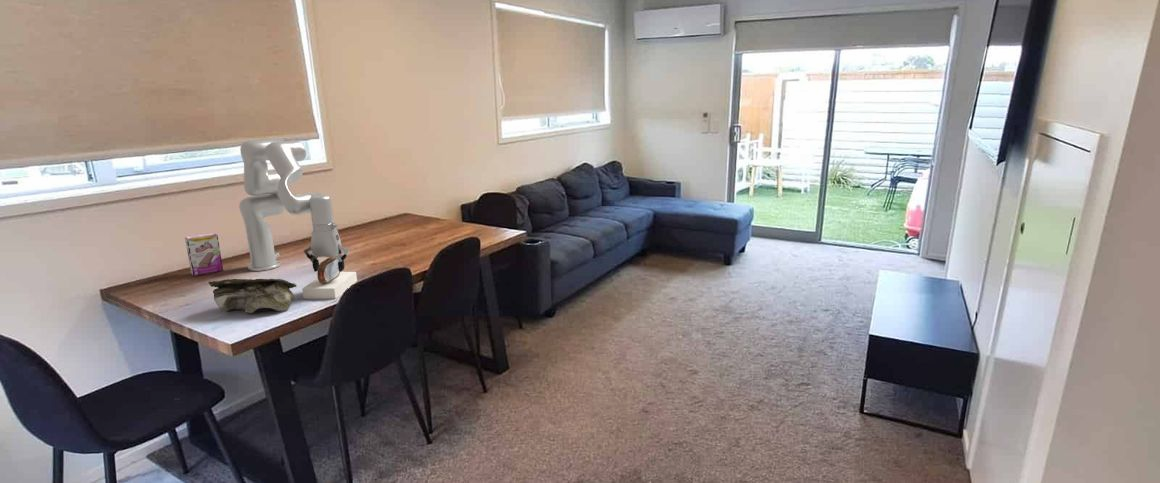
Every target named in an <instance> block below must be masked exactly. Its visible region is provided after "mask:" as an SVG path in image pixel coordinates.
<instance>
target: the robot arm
mask: <svg viewBox="0 0 1160 483" xmlns="http://www.w3.org/2000/svg"><path fill="white" fill-rule="evenodd" d="M240 156H241V158H242V161H243V187H244V188H243V190H244V192H245V193H246V194H247V195H248V197H245V198H243V199H241V200H240V202H239V205H238V208H239V211H240V214H241V216H242V220H243V222H244V228H245V233H246V239H247V246H248V251H249V257H250V264H248V265H247V269H248V270H249V271H253V272H260V271H261V272H262V271H268V270H274V269H276V268H279V267H280V266H281V261H279V260H277V258H279V257H280V256H281V255H280V253H279V252H275V246H274V239H273V232H272V227H271V225H270V224H269V223H268V221H266V220H265V219H264V218H268V217H273V216H278V215H281V214H283V213H284V212H285V210H286V211H287V212H288V213H289V214H290V215H293V216H299V215H303V214H304V215H305V214H310V215H311V216H310V217H311V223H312V224H311V225H312V231H311V234H310V235H311V237H310V238H311V239H310V242H311V243H310V246H309V247H307V248H305V249H303V252H304V254H305V255H306V258H307V259H309V260H310V262H311V263H312V268H313V269H312V270H313V271H314V273H316V272H318V267H319V265H320V260H319V259H318V258H329V257H336V258H337V259H338V260H339V262H338V269H339V272H344V269H345V260H346V259H347V257H348V256H349V253H350V249H349V248H347V247H344V246H342V241H341V238H340V234H339V231H338V228H339V226H338V224H335V219H334V213H333V212H334V210H333V202H332V198H331V196H330V195H328V194H323V193H322V192H318V191H312V192H307V193H305V192H304V193H298V194H292V192H291V191H290V190H289V186H291V185H292V184H294V183H296V182H297V181H298V180H300V179H301V178H302V177H303V174H304V170H303V168H302V166H301V164H299V162H302V161H304V160H305V159H306V157H307V150H306V147H305V146H304V144H303V143H301V142H300V141H299V140H297V139H296V140H295V139H291V138H269V139H265V138H264V139H251V140H250V139H249V140H245V141H243V142H242V143H241V145H240ZM267 161H268V162H270V164H271V166H272V167H273V169H274V170H272V171H268V162H267ZM342 253H343V254H342Z"/></svg>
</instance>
